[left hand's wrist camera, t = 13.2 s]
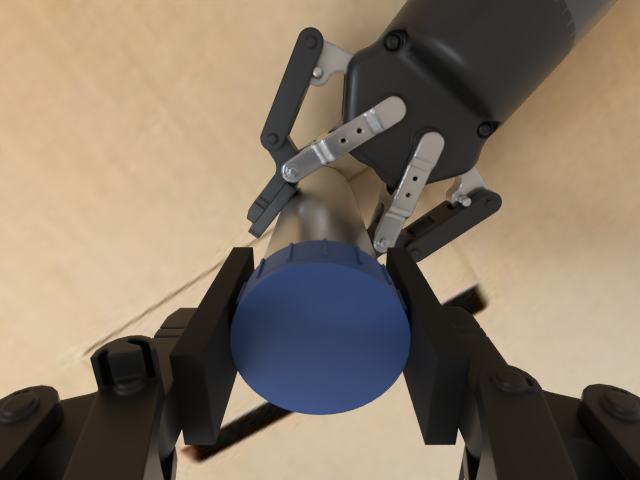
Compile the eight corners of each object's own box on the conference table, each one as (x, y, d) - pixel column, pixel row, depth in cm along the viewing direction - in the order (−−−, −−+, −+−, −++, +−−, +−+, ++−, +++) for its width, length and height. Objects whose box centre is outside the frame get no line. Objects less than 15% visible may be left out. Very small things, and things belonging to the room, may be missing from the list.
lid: (372, 389, 13) (380, 429, 12) (228, 359, 13) (214, 398, 11) (422, 260, 12) (440, 286, 10) (256, 220, 11) (245, 241, 9)
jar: (308, 239, 28) (293, 415, 12) (275, 186, 27) (210, 308, 11) (363, 210, 27) (424, 358, 11) (332, 153, 26) (353, 233, 10)
